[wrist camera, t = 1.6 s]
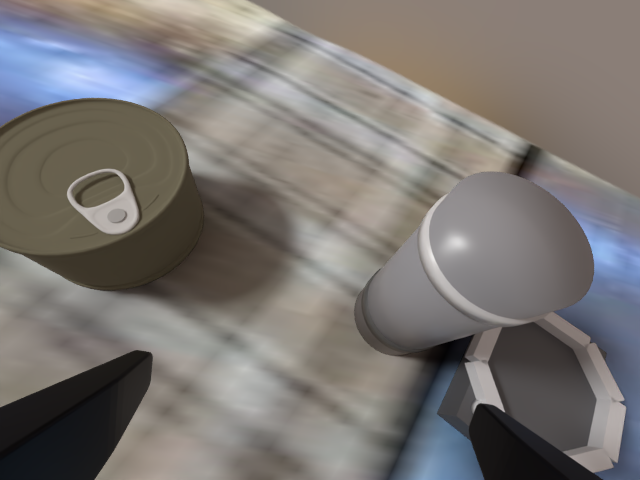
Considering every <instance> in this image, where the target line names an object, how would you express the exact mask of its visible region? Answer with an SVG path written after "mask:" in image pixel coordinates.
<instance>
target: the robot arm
mask: <svg viewBox="0 0 640 480" xmlns="http://www.w3.org/2000/svg"><path fill="white" fill-rule="evenodd" d="M152 361H153V356H152V354H151V352H146V351H139V350H135V351H132V352H130V353H127V354H125V355H123V356H120V357H118V358H116V359H113V360H111V361H109V362H106V363H104V364H102V365H99V366H97V367H94V368H92V369H90V370H87V371H85V372H83V373H80V374H78V375H76V376H73V377H71V378H69V379H66V380H64V381H61V382H59V383H57V384H54V385H52V386H50V387H47V388H45V389H43V390H40V391H38V392H36V393H33V394H31V395H28V396H26V397H24V398H21V399H19V400H17V401H14V402H12V403H10V404H7V405H5V406H2V407H0V480H95V478H96V477H97V475H98V474H99V472H100V471H101V469H102V468H103V466H104V465H105V463H106V462H107V460H108V459H109V457H110V456H111V454H112V453H113V451H114V449H115V448H116V446H117V444H118V442H119V441H120V439H121V437H122V435H123V434H124V432H125V430H126V428H127V426H128V424H129V423H130V421H131V419H132V417H133V415H134V413H135V412H136V410H137V408H138V406H139V404H140V403H141V401H142V399H143V397H144V395H145V393H146V392H147V390H148V387H149V385H150V381H151V372H152ZM469 437H470V440H471V443H472V445H473V448H474V451H475V454H476V457H477V460H478V462H479V465H480V468H481V471H482V474H483V477H484V479H485V480H603V479H601V478H600V477H598V476H597V475H595V474H594V473H593V472H591V471H590V470H588V469H587V468H585V467H584V466H582V465H581V464H579V463H578V462H576V461H575V460H574V459H572V458H571V457H569V456H568V455H566V454H565V453H563V452H562V451H560V450H559V449H557V448H556V447H555V446H553V445H552V444H550V443H549V442H547V441H546V440H544V439H543V438H541V437H540V436H538V435H537V434H536V433H534V432H533V431H531V430H530V429H528V428H527V427H525V426H524V425H522V424H521V423H519V422H518V421H517V420H515V419H514V418H512V417H511V416H509V415H508V414H506V413H505V412H503V411H502V410H501V409H499V408H498V407H496V406H494V405H491V404H484V403H479V404H478V405H477V406H476V408H475V411H474V414H473V416H472V419H471V422H470V425H469Z"/></svg>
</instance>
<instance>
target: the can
mask: <svg viewBox="0 0 640 480" xmlns="http://www.w3.org/2000/svg"><path fill="white" fill-rule="evenodd" d="M203 222H204V211H203V205H202V201H201V199H200V196H199V194H198V190H197V187H196V184H195V181H194V179H193V176H192V172H191V169H190V166H189V159H188V153H187V149H186V146H185V144H184V141H183V139H182V137H181V136H180V134H179V132H178V131H177V130H176V128H175V127H174V126H173V125H172V124H171V123H170V122H169V121H168V120H166V119H165V118H164V117H162V116H161V115H160V114H158V113H156V112H154V111H153V110H150V109H148V108H146V107H144V106H141V105H138V104H135V103H131V102H127V101H123V100H116V99H107V98H82V99H73V100H67V101H61V102H57V103H53V104H49V105H46V106H42V107H39V108H37V109H34V110H31V111H29V112H26V113H24V114H22V115H20V116H18V117H16V118H14V119H12V120H11V121H9V122H7V123H5V124H4V125H2V126H1V127H0V247H2V248H4V249H7V250H9V251H12V252H15V253H19V254H22V255H24V256H25V257H27V258H29V259H31V260H33V261H35V262H37V263H38V264H40V265H42V266H44V267H46V268H48V269H49V270H51V271H53V272H55V273H57V274H59V275H61V276H62V277H64V278H65V279H67V280H69V281H71V282H73V283H75V284H77V285H80V286H83V287H87V288H91V289H97V290H122V289H128V288H133V287H137V286H141V285H144V284H147V283H149V282H152V281H154V280H156V279H158V278H160V277H162V276H164V275H165V274H167V273H168V272H170V271H171V270H173V269H174V268H175V267H177V266H178V265H179V264H180V263H181V262H182V261H183V260H184V259H185V258H186V257H187V256H188V255H189V254H190V252H191V251H192V250H193V248H194V247H195V245H196V243H197V241H198V239H199V237H200V234H201V232H202V228H203Z"/></svg>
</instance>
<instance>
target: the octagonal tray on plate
mask: <svg viewBox="0 0 640 480" xmlns="http://www.w3.org/2000/svg"><path fill="white" fill-rule="evenodd" d="M590 339H591V337H589V336H588V335H586V334H585V333H583V332H582V331H580V330H579V329H577V328H576V327H574V326H573V325H572V324H570V323H569V322H567V321H566V320H564V319H563V318H561V317H560V316H558V315H557V314H555V313H554V312H551V313H550V314H549V315H547V316H546V317H544V318H542V319H539V320H537V321H533V322H530V323H526V324H522V325H518V326H513V327H498V328H494V329H491V330H487V331H484V332H480V333H477V334H473V336H472V338H471V340H470V342H469V344H468V346H467V349H466V351H465V353H464V355H463V357H462V360H461V362H460V364H459V366H458V368H457V371H456V373H455V375H454V377H453V379H452V382H451V384H450V386H449V388H448V390H447V393H446V395H445V397H444V399H443V401H442V403H441V406H440V408H439V410H438V412H437V414H438V415H439V416H440V417H442V418H443V419H444V420H445V421H447V422H448V423H449V424H450V425H452V426H453V427H454V428H455V429H457V430H458V431H459V432H460V433H462V434H463V435H464V436H465V437H467V438H468V439H469V440H470V437H469V425H470V422H471V419H472V416H473V414H474V411H475V408H476V406H477V405H478V404H479V403H484V404H491V405H494V406H496V407H498V408H499V409H501V410H502V411H503V412H505V413H506V414H508V415H509V416H511V417H512V418H514V419H515V420H517V421H518V422H519V423H521V424H522V425H524V426H525V427H527V428H528V429H530V430H531V431H533V432H534V433H536V434H537V435H538V436H540V437H541V438H543V439H544V440H546V441H547V442H549V443H550V444H552V445H553V446H555V447H556V448H557V449H559V450H560V451H562V452H563V453H565V454H566V455H568V456H569V457H571V458H572V459H574V460H575V461H576V462H578V463H579V464H581V465H582V466H584V467H585V468H587V469H588V470H590V471H591V472H593V473H595V472H599V471H602V470H606V469H610V468H614V466H613V464H612V462H615V463H618V457H619V450H620V444H621V437H622V431H623V425H624V418H625V412H626V407H625V406H624V405H623V404H621V403H620V402H619V401H624V398H623V396H622V394H621V392H620V390H619V388H618V386H617V384H616V382H615V380H614V378H613V376H612V374H611V372H610V371H609V369H608V367H607V365H606V363H605V358H606V352H605V351H603V350H602V349H600V348H599V347H597V345H596V343H591V342H590ZM470 441H471V440H470Z"/></svg>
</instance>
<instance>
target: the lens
mask: <svg viewBox="0 0 640 480" xmlns="http://www.w3.org/2000/svg"><path fill="white" fill-rule="evenodd" d="M593 275H594V260H593V254H592V250H591V247H590V244H589V242H588V239H587V237H586V235H585V233H584V231H583V229H582V228H581V226H580V225H579V223H578V222H577V220H576V219H575V218H574V216H573V215H572V214H571V213H570V211H569V210H568V209H567V208H566V207H565V206H564V205H563V204H562V203H561V202H560V201H559V200H558V199H556V198H555V197H554V196H553V195H551V194H550V193H549V192H547V191H546V190H544V189H543V188H541V187H540V186H538V185H536V184H534V183H533V182H530V181H528V180H526V179H524V178H521V177H518V176H515V175H512V174H508V173H502V172H481V173H476V174H473V175H470V176H468V177H466V178H465V179H463V180H462V181H460V182H459V183H458V184H457V185H456V186H455V187H454V188H453V189H452V191H451V192H450V193H448V194H446V195H445V196H443V197H442V198H441V199H439V200H438V201H437V202H436V203H435V204H434V206H433V207H432V208H431V209H430V210H429V211H428V213H427V214H426V215H425V216H424V218H423V220H422V222H421V224H420V226H419V227H418V228H417V230H416V231H415V232H414V233H413V234H412V235H411V236H410V237H409V238H408V240H407V241H406V242H405V243H404V244H403V245H402V246H401V247H400V248H399V250H398V251H397V252H396V253H395V254H394V255H393V256H392V257H391V258H390V260H389V261H388V262H387V263H386V264H385V265H384V266H383V267H382V268H381V269H379V270H378V271H377V272H376V273H375V274H374V275H373V276H372V278H371V279H370V280H369V281H368V283H367V284H366V286H365V287H364V289H363V290H362V291H361V292H360V294H359V295H358V297H357V300H356V303H355V309H354V315H355V322H356V325H357V328H358V330H359V332H360V334H361V336H362V337H363V338H364V340H365V341H366V342H367V343H368V344H369V345H370V346H371V347H373V348H374V349H376V350H377V351H379V352H381V353H384V354H388V355H395V356H397V355H404V354H408V353H416V352H420V351H424V350H427V349H430V348H433V347H434V346H436V345H439V344H442V343H446V342H449V341H453V340H456V339H459V338H463V337H466V336H470V335H473V334H477V333H480V332H484V331H487V330H491V329H494V328H498V327H513V326H518V325H522V324H526V323H530V322H533V321H537V320H539V319H542V318H544V317H546V316H547V315H549V314H550V313H551V312H553V311H556V310H560V309H563V308H566V307H569V306H571V305H574V304H575V303H577V302H578V301H580V300H581V299H582V298H583V297H584V296H585V295H586V293H587V292H588V290H589V288H590V286H591V283H592V281H593Z"/></svg>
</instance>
